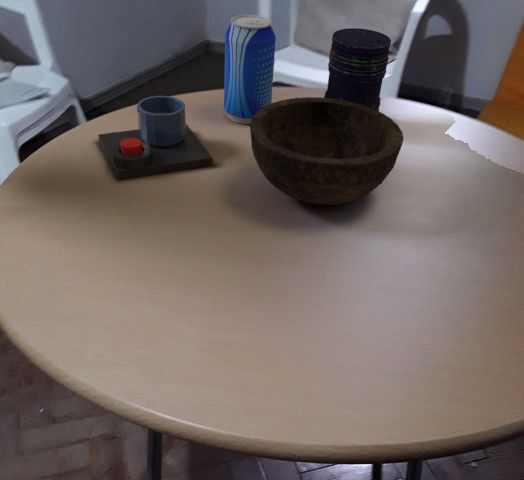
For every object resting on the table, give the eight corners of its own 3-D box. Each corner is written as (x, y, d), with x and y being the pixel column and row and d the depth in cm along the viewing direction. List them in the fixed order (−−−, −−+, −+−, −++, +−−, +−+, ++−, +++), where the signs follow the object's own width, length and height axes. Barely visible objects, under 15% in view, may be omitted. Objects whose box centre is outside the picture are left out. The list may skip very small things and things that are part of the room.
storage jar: (312, 129, 111) (322, 39, 101) (332, 110, 118) (344, 24, 108) (365, 143, 109) (381, 52, 98) (382, 122, 115) (399, 35, 105)
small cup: (147, 151, 99) (144, 117, 95) (134, 131, 104) (131, 98, 100) (192, 145, 101) (191, 111, 98) (177, 126, 106) (176, 93, 102)
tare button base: (119, 180, 95) (116, 161, 93) (98, 142, 103) (96, 124, 101) (212, 165, 100) (212, 147, 98) (185, 130, 108) (185, 113, 106)
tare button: (124, 158, 94) (123, 148, 93) (118, 148, 96) (117, 139, 95) (145, 155, 95) (144, 145, 94) (139, 146, 97) (138, 136, 96)
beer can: (254, 130, 110) (259, 32, 99) (214, 117, 113) (215, 20, 102) (278, 115, 115) (286, 20, 104) (240, 102, 118) (243, 9, 107)
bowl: (276, 146, 106) (280, 86, 99) (402, 176, 101) (417, 115, 94) (224, 207, 91) (225, 142, 84) (370, 245, 86) (384, 179, 79)
